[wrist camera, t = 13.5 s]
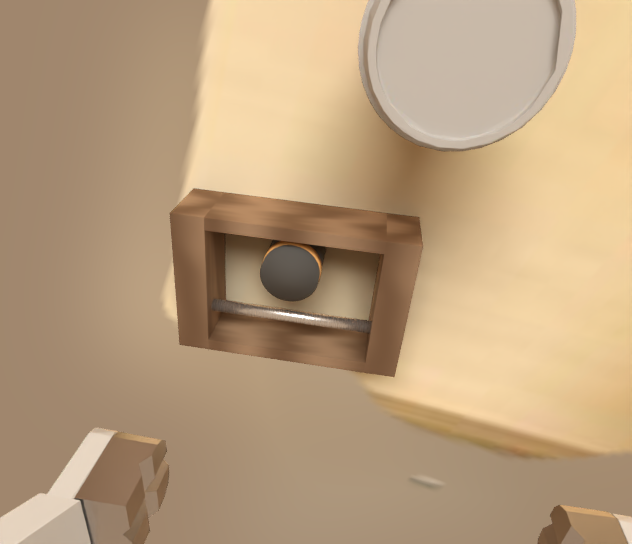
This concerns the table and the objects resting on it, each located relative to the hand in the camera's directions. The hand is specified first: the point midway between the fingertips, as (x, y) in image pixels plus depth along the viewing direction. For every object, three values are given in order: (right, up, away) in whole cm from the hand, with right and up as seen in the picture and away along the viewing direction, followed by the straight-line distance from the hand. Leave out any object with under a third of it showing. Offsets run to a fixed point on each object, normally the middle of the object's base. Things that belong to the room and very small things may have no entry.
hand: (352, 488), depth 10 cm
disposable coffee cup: (+7, +20, +21) cm, 30 cm away
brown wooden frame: (-2, +5, +31) cm, 32 cm away
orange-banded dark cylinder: (-2, +7, +30) cm, 31 cm away
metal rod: (-3, +1, +30) cm, 30 cm away
